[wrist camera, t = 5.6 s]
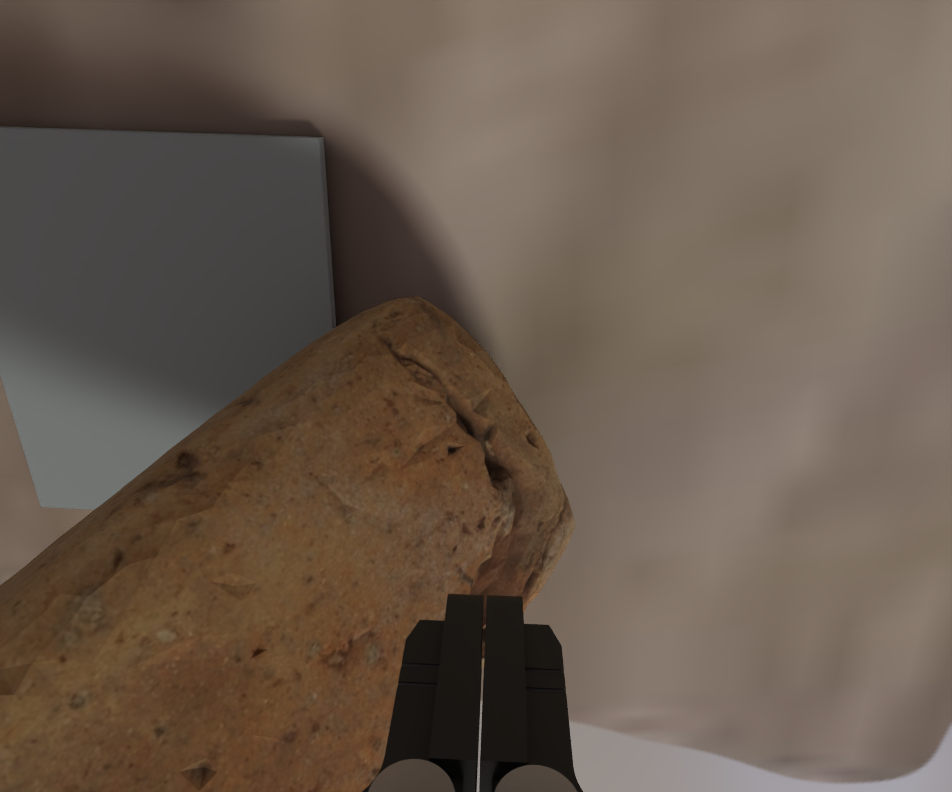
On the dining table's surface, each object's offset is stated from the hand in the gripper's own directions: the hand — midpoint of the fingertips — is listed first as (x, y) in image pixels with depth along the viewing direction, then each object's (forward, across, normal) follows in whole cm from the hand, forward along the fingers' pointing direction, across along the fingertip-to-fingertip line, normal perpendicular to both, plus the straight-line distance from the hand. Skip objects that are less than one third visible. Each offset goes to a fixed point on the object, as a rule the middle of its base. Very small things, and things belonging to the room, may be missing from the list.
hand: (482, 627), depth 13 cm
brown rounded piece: (+11, +1, 0) cm, 11 cm away
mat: (+13, +12, -1) cm, 18 cm away
